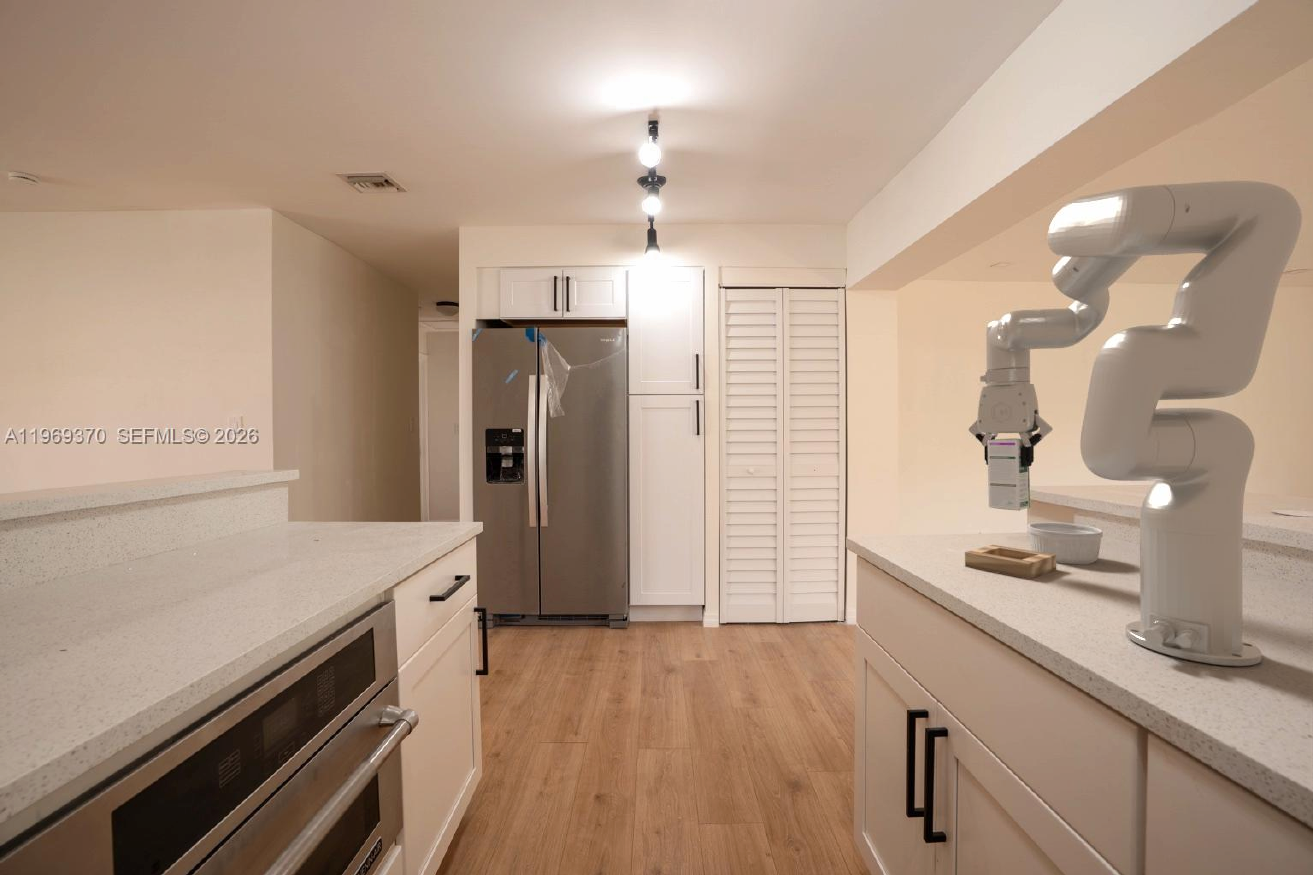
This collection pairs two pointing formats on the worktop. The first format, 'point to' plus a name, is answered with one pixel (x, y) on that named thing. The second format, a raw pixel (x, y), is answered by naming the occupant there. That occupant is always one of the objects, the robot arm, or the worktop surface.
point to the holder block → (1011, 561)
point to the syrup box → (1007, 475)
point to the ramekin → (1066, 541)
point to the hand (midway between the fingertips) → (1008, 464)
